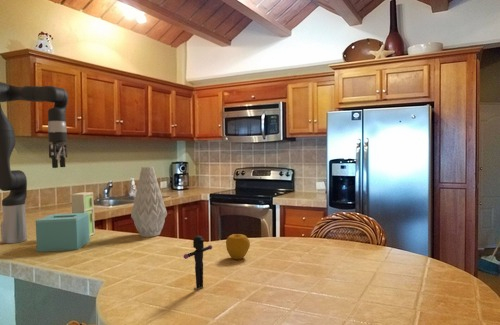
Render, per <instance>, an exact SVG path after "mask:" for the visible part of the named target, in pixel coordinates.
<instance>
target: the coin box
mask: <svg viewBox="0 0 500 325" xmlns="http://www.w3.org/2000/svg"><path fill="white" fill-rule="evenodd" d="M35 236H36V253H44V252H62V251H63V252H64V251H78V250H79V249H81V248H82V247H83V245H84V246H85V245H86V244H88V243H89V242H90V240H91V239H90V238H91V236H90V235H89V213H72V212H71V213H55V214H49V215H47V216H46V215H45V216H44V217H41V218H39V219H36V220H35Z"/></svg>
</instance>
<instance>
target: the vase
mask: <svg viewBox="0 0 500 325" xmlns="http://www.w3.org/2000/svg"><path fill="white" fill-rule="evenodd" d="M130 215H131V216H130V218H131V219H132V220H133V222H134V223H133V224H134V226H135V228H136V230H137V232H138V233H139V235H140V237H143V238H151V237H152V238H153V237H157V236H159V235H161V232H162V230H163V228H164V225H165V218H166V217H167V216H168V212H167V208H166V206H165V203H164V198H163V195H162V191H161V189H160V184H159V183H158V179H157V175H156V171H155V168H154V166H142V167H141V168H140V173H139V179H138V183H137V187H136V191H135V196H134V201H133V206H132V211H131V213H130Z"/></svg>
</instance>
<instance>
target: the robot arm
mask: <svg viewBox="0 0 500 325" xmlns="http://www.w3.org/2000/svg"><path fill="white" fill-rule="evenodd" d="M14 101H15V102H16V101H24V102H25V101H26V102H33V103H34V102H36V103H43V102H47V103H54V105H53V108H52V107H51V108H49V109H48V110H47V121H48V122H47V135H48V136H47V138H48V140H47V141H48V142H49V143H50V144H49V145H48V158H49V159H51V167H52V169H57V168H65V167H66V159H67V158H68V147H67V146H68V145H67V144H64V143H67V142H68V132H67V130H68V129H67V121H66V117H67V116H66V112H67V108H68V103H69V94H68V92H67V90H66V89H64V88H63V87H62V88H61V87H57V86H50V85H45V86H44V85H42V86H39V85H37V86H36V85H25V86H15V85H11V84H9V83H5V82H1V81H0V190H1V191H2V192H8V191H9V194H8V195H7V196H6V197H4V198H2V200H1V212H2V221H1V222H0V232H1V233H0V236H1V244H15V243H16V244H17V243H18V244H19V243H22V242H25V241H27V237H28V235H27V216H26V210H27V209H26V199H27V198H28V196H27V194H28V193H27V192H28V190H27V189H28V188H27V186H28V180H27V176H26V173H25V172H23V171H22V170H19V169H18V170H17V169H16V170H13V169H11V164H10V163H11V160H10V159H11V156H12V153H13V151H14V149H15V146H16V139H17V138H16V133H15V130H14V126H13V124H12V123H11V121H10V120H9V118H8V117H7V116H6V114H5V113H4V111H3V109H2V104H1V103H7V102H14Z"/></svg>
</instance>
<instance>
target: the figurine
mask: <svg viewBox="0 0 500 325" xmlns="http://www.w3.org/2000/svg"><path fill="white" fill-rule="evenodd" d="M192 242H193V243H192V244H193V246H192V247H193V248H194V249H195V250H194V251H192V252H189V253H184V255H183V259H184V260H187V259H188V258H191V257H193V258H194V261H195V264H194V271H195V272H194V273H195V284H196V285H195V286H196V287H194V288H193V290H196V291H200V290H201V289H204V262H203V260H204V252H206V251H209V250H212V249H213V246H212V245H211V244H209V245H208V246H204V243H205V239H204V238H203V236H202V235H195V236H194V237H193V241H192Z"/></svg>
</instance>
